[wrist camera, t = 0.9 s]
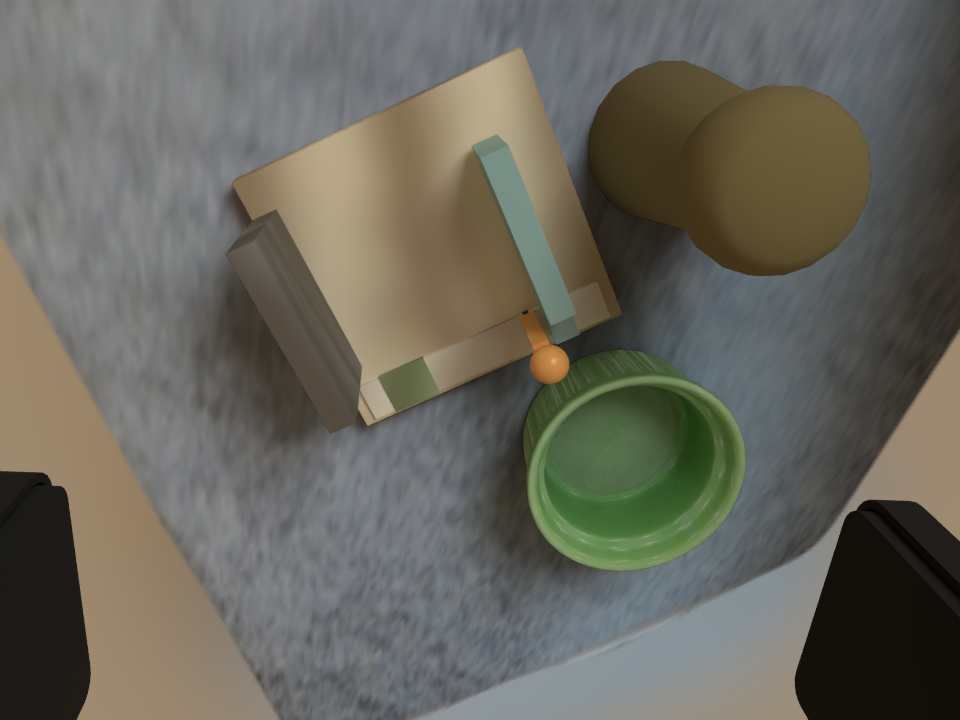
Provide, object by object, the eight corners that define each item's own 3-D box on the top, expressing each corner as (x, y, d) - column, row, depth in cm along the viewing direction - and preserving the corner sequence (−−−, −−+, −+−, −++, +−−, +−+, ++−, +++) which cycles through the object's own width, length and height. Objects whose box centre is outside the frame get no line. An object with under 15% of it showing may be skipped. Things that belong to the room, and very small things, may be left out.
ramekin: (604, 546, 38) (629, 607, 33) (469, 438, 35) (479, 491, 30) (745, 420, 36) (790, 468, 32) (615, 294, 33) (647, 330, 29)
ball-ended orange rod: (542, 306, 31) (564, 346, 27) (554, 336, 31) (578, 380, 27) (509, 321, 31) (527, 363, 27) (522, 350, 31) (542, 396, 27)
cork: (709, 29, 29) (878, 24, 19) (760, 175, 31) (935, 240, 21) (562, 108, 29) (651, 144, 19) (624, 246, 32) (732, 342, 22)
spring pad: (496, 134, 28) (508, 144, 25) (575, 326, 31) (593, 356, 28) (471, 145, 28) (480, 157, 25) (552, 336, 31) (568, 367, 28)
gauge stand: (517, 47, 28) (547, 49, 23) (615, 306, 33) (660, 360, 27) (236, 178, 29) (199, 210, 24) (368, 415, 33) (362, 489, 28)
